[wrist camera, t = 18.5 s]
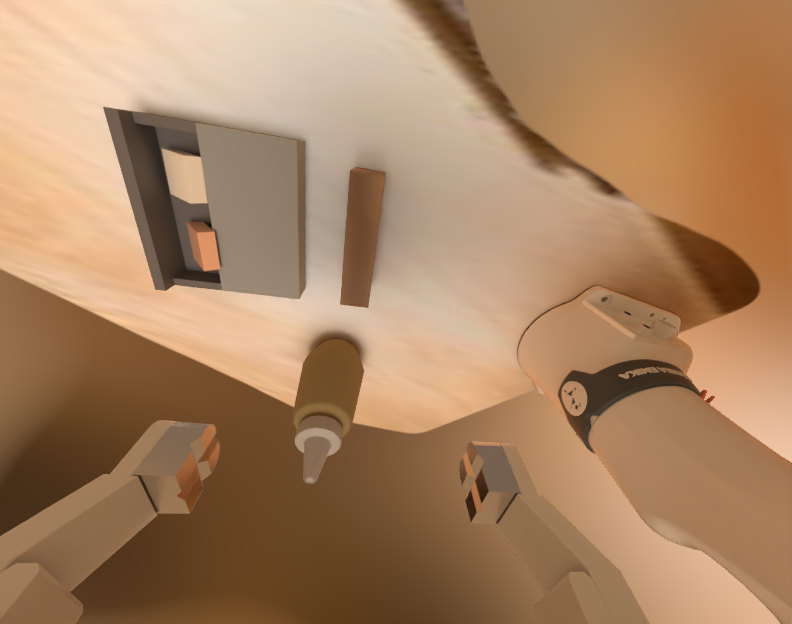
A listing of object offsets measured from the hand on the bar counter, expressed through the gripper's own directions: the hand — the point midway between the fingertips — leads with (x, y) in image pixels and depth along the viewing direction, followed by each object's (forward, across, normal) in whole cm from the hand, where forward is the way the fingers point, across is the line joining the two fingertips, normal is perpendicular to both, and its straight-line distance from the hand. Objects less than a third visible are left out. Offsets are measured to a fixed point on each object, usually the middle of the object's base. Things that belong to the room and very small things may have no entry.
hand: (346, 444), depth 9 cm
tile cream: (+25, +18, -3) cm, 31 cm away
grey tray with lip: (+27, +15, 0) cm, 31 cm away
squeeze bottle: (+27, +3, +18) cm, 33 cm away
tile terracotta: (+25, +17, +3) cm, 30 cm away
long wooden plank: (+27, +1, 0) cm, 27 cm away
